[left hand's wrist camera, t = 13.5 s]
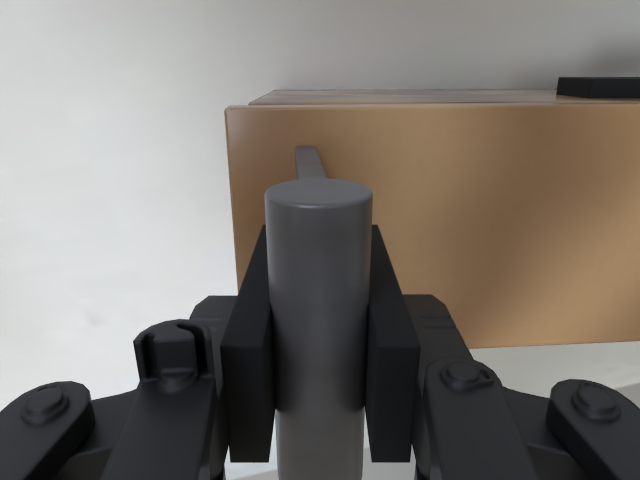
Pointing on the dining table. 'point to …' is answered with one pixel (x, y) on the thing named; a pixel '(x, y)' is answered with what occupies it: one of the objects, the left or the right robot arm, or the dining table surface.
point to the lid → (429, 238)
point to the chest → (421, 97)
